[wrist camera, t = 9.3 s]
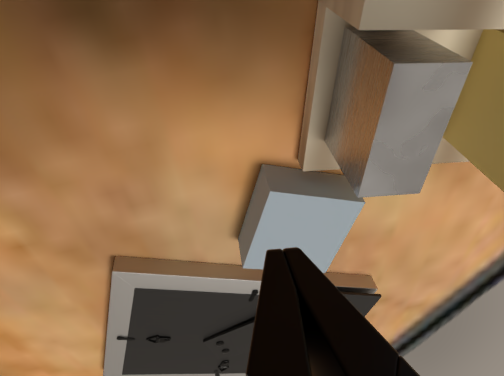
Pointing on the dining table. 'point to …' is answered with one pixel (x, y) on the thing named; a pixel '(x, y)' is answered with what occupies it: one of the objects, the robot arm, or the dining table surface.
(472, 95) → the olive yellow block
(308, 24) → the dining table surface
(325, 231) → the blue book lying
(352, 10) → the shelf tray
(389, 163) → the bookend
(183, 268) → the picture frame
